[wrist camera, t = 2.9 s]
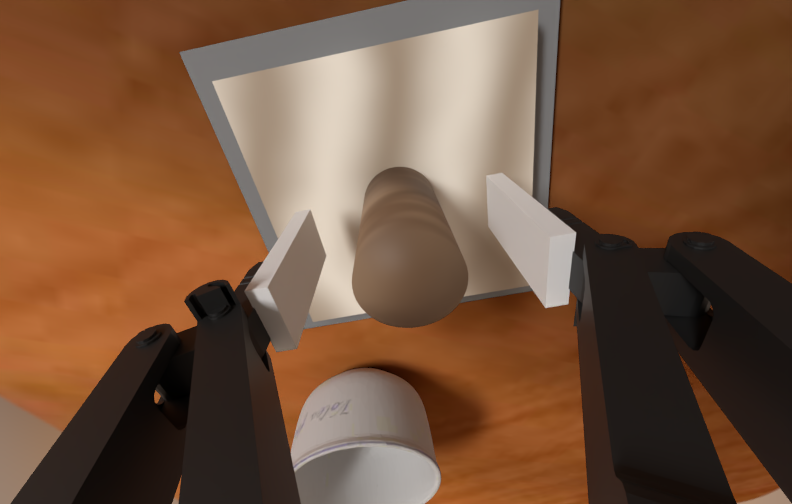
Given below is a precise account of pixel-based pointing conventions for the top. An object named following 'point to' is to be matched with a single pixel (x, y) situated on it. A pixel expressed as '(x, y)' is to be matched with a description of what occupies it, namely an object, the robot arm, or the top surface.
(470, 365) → the top surface
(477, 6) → the mat
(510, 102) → the cover board
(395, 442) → the teacup
